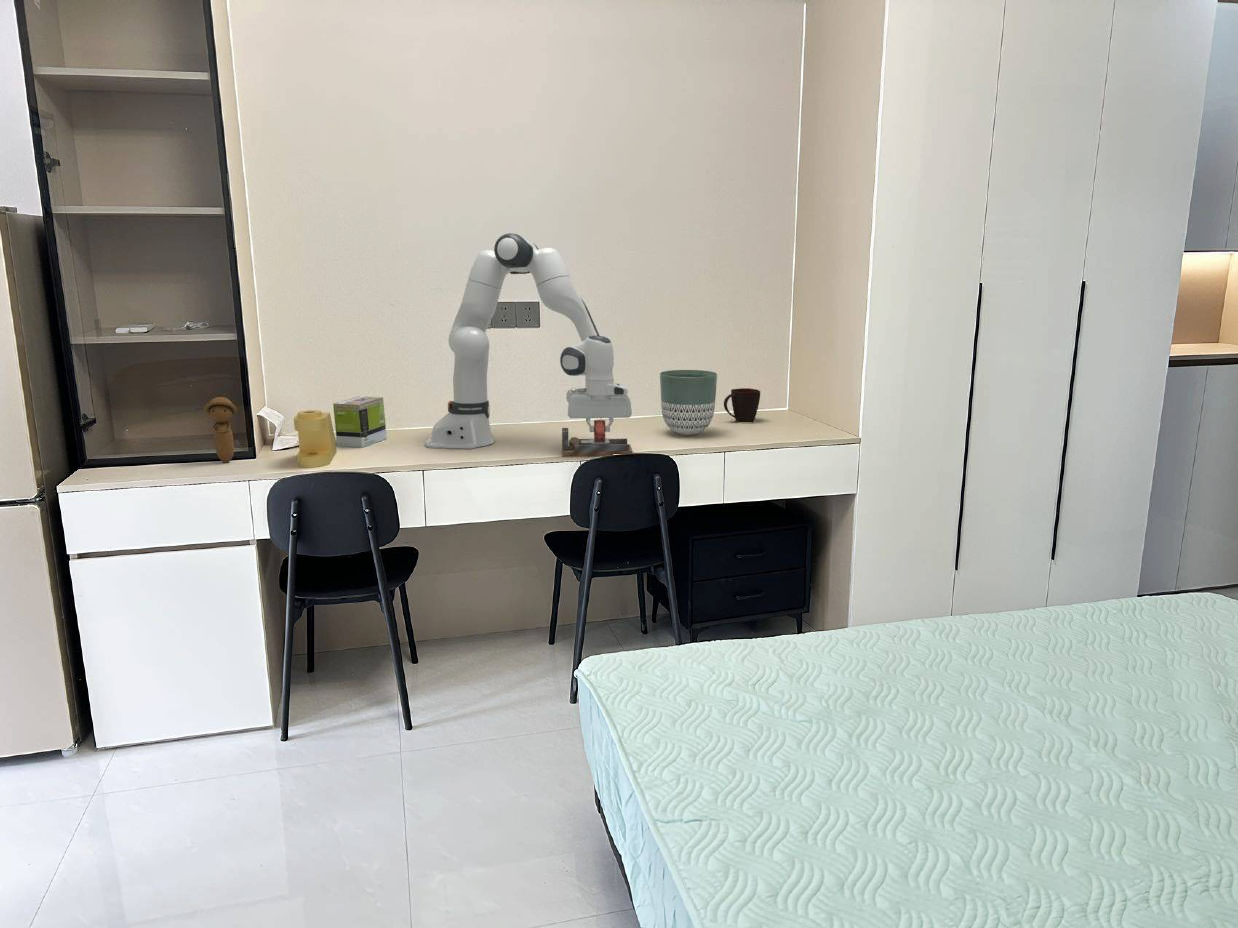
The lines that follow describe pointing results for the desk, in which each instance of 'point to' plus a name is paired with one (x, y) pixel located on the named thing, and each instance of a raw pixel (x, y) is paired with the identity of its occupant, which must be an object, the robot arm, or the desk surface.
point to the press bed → (594, 447)
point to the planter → (688, 400)
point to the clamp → (315, 439)
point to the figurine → (222, 426)
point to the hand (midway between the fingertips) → (599, 431)
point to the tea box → (359, 421)
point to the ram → (597, 434)
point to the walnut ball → (574, 441)
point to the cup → (743, 404)
